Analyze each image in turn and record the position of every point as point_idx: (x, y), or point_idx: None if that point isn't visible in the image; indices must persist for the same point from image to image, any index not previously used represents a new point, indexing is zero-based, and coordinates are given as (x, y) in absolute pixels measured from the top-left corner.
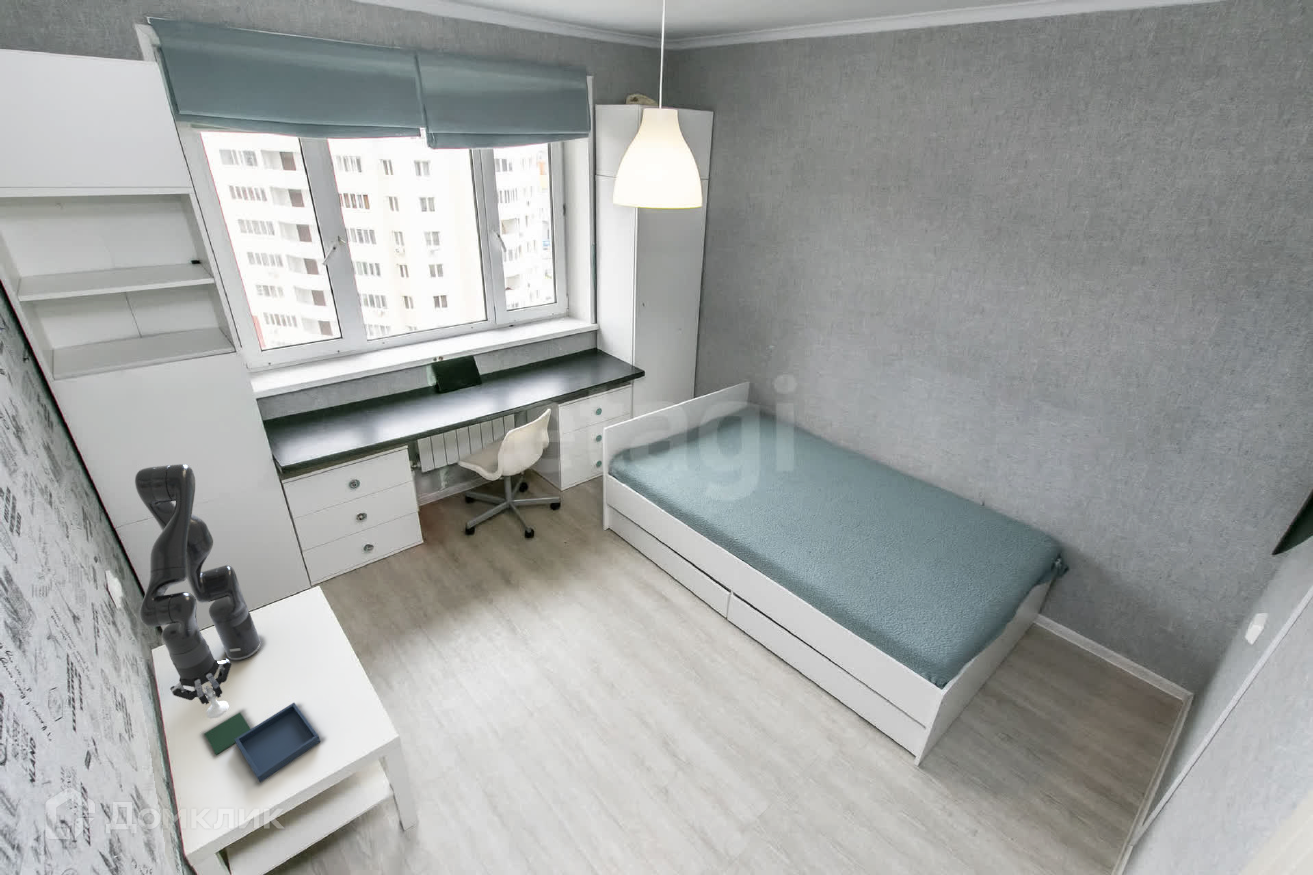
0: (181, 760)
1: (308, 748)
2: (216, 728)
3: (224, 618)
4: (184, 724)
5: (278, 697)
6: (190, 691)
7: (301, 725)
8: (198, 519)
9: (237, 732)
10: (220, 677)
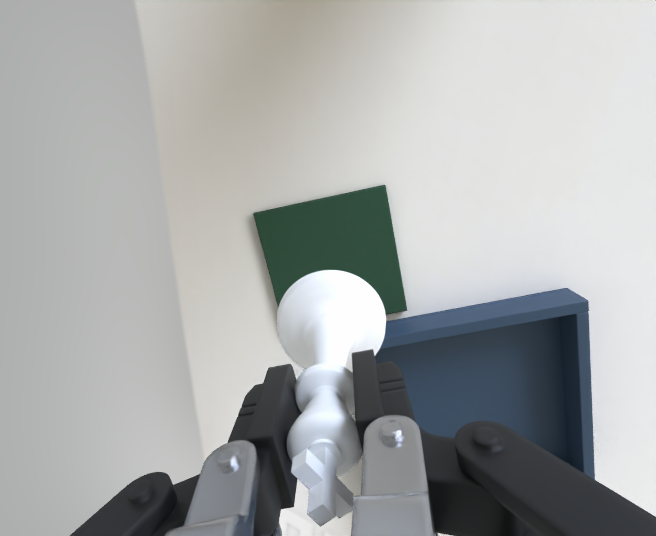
0: (181, 284)
1: None
2: (296, 216)
3: None
4: (185, 109)
5: (530, 193)
6: (153, 531)
7: (553, 381)
8: None
9: None
10: (488, 516)
